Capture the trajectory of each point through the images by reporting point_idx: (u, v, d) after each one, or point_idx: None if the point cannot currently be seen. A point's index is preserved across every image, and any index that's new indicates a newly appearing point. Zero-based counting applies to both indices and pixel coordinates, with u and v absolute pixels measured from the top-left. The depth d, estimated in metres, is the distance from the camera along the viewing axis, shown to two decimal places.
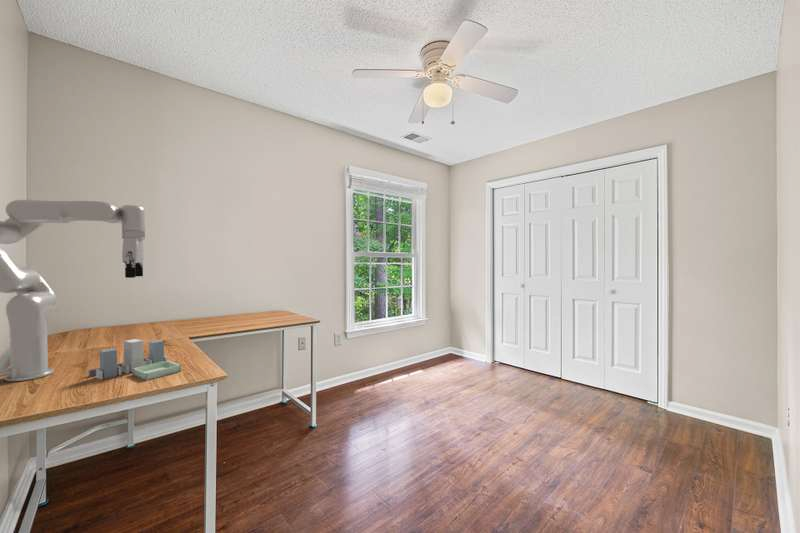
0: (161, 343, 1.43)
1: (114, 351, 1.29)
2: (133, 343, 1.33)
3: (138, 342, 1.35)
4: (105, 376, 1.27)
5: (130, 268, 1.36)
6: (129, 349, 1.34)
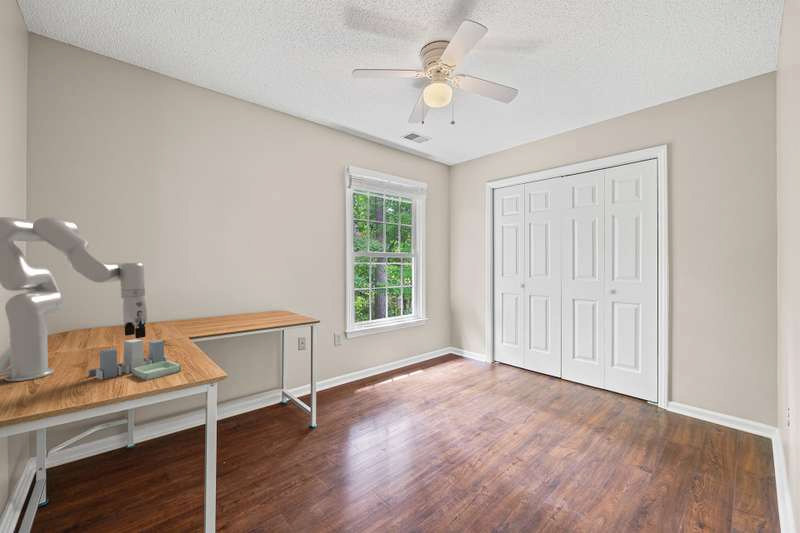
0: (161, 343, 1.43)
1: (114, 351, 1.29)
2: (133, 343, 1.33)
3: (138, 342, 1.35)
4: (105, 376, 1.27)
5: None
6: (129, 349, 1.34)
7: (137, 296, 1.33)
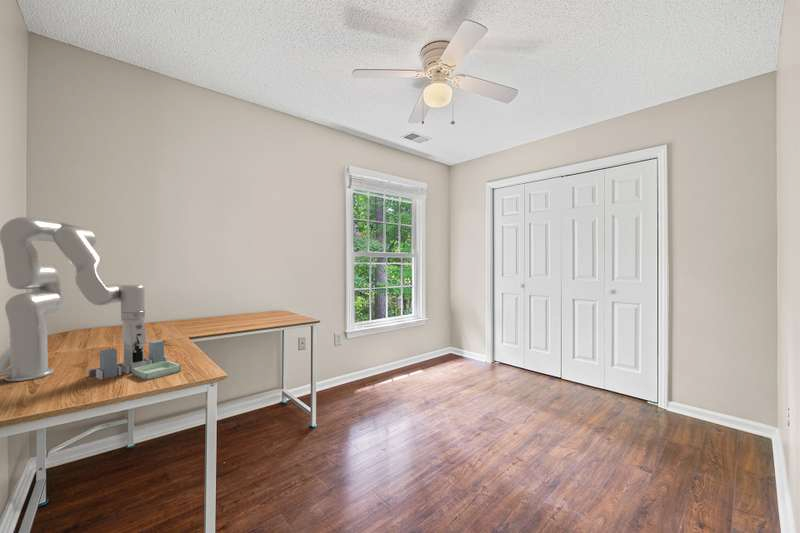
0: (161, 343, 1.43)
1: (114, 351, 1.29)
2: None
3: None
4: (105, 376, 1.27)
5: None
6: (129, 349, 1.34)
7: (137, 319, 1.34)
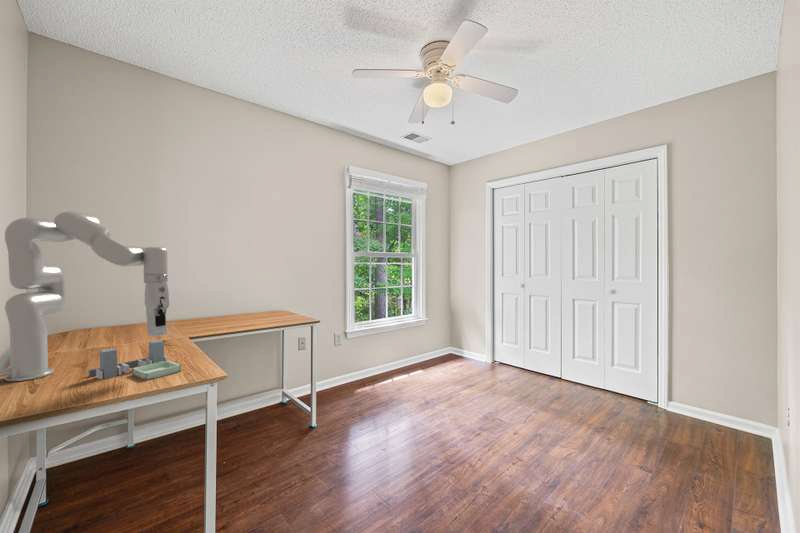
0: (161, 343, 1.43)
1: (114, 351, 1.29)
2: None
3: (160, 306, 1.31)
4: (105, 376, 1.27)
5: None
6: (151, 313, 1.30)
7: (160, 281, 1.30)
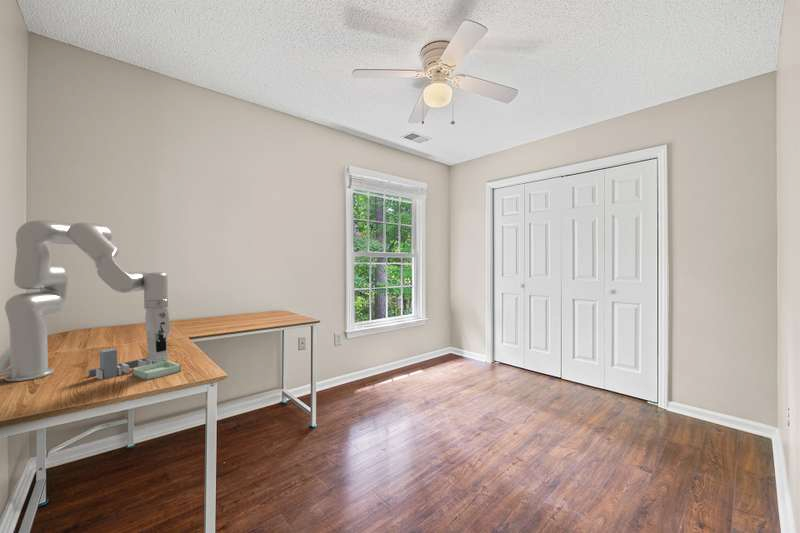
0: None
1: (114, 351, 1.29)
2: None
3: None
4: (105, 376, 1.27)
5: None
6: (152, 338, 1.30)
7: (160, 307, 1.30)
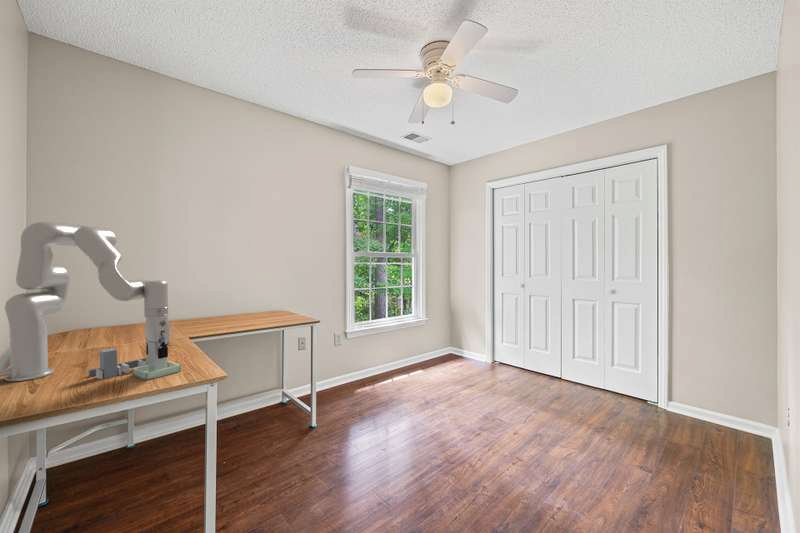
0: None
1: (114, 351, 1.29)
2: (156, 343, 1.30)
3: None
4: (105, 376, 1.27)
5: None
6: (152, 349, 1.31)
7: (161, 315, 1.30)
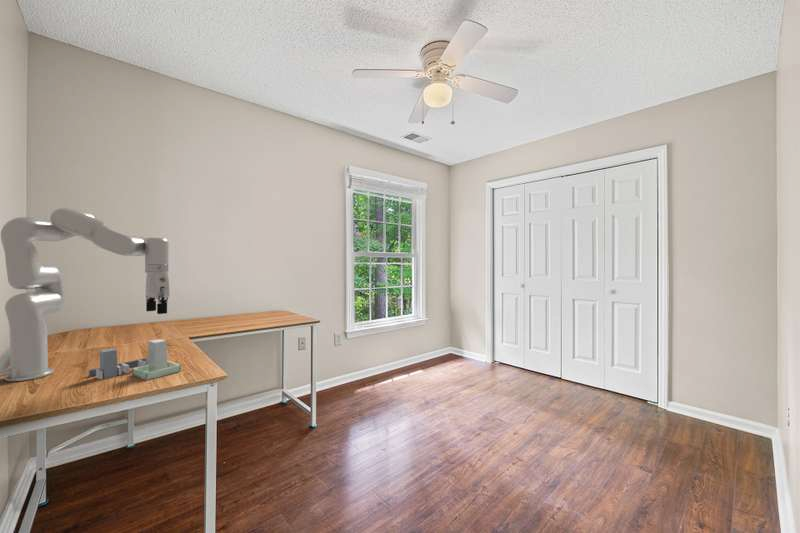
0: None
1: (114, 351, 1.29)
2: (156, 343, 1.30)
3: (161, 342, 1.32)
4: (105, 376, 1.27)
5: None
6: (153, 349, 1.31)
7: (161, 271, 1.32)
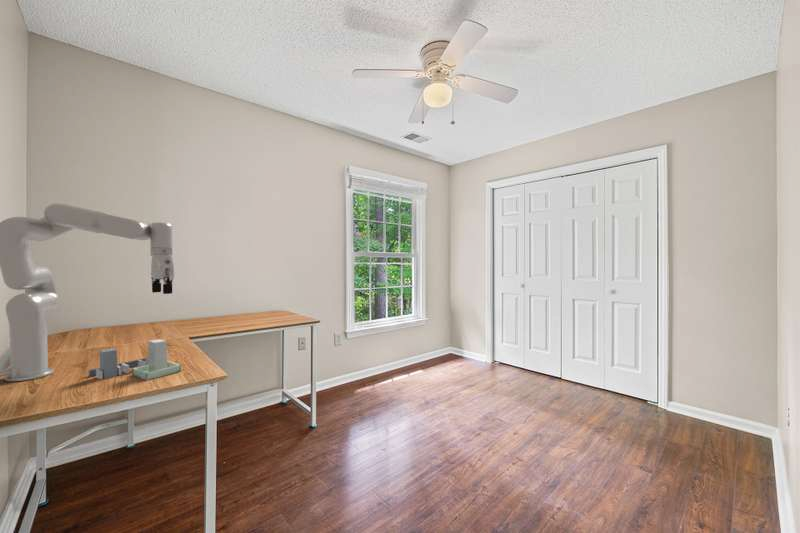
0: None
1: (114, 351, 1.29)
2: (156, 343, 1.30)
3: (161, 342, 1.32)
4: (105, 376, 1.27)
5: None
6: (153, 349, 1.31)
7: (165, 254, 1.41)
